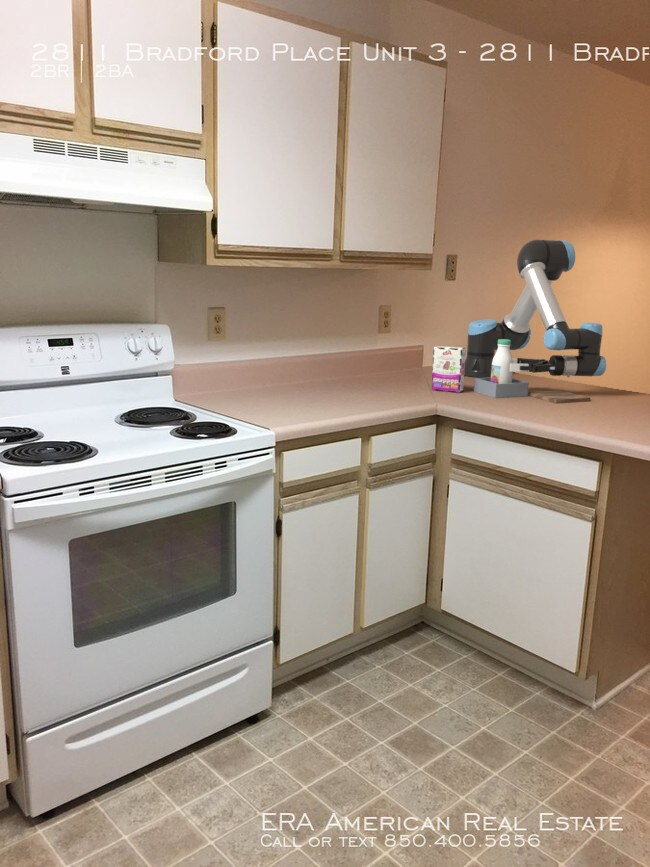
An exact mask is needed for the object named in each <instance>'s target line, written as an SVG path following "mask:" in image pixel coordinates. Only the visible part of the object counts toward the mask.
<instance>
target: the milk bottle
mask: <svg viewBox="0 0 650 867" xmlns="http://www.w3.org/2000/svg"><path fill="white" fill-rule="evenodd" d="M510 344H511V340H507V339H499V340H498V349H497V350H496V351H495V356H494V358H493V361H492V368H491V381H490V382H493V383H496V384H501V383H512V378H513V376H514V375H513V372H514V371H510V364H513V359H514V358H513V357H512V353H511V350H510Z"/></svg>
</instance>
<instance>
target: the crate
mask: <svg viewBox="0 0 650 867" xmlns="http://www.w3.org/2000/svg"><path fill="white" fill-rule="evenodd" d="M473 380H474V381H473V392H475V393H479V394H481V395H484V396H486V397H487V396H488V397H490V398H494V399H499V398H500V399H501V398H502V399H503V398H516V397H519V398H520V397H528V396H529V384H530V383H529V382H527V381H525V380H520V379H516V378H513V377H512V383H501V384H496V383H493V382H490V381H491V377H474V379H473Z"/></svg>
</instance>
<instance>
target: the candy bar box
mask: <svg viewBox="0 0 650 867" xmlns="http://www.w3.org/2000/svg"><path fill="white" fill-rule="evenodd" d="M466 352H467V348H466V347H459V346H458V347H457V346H441V345H437V346H434V347H433V353H432V354H433V355H432V373H431V374H432V375H431V376H432V377H431V378H432V379H431V390H432V391H439V392H449V393H458V394H459V393H462V392H464V386H465V385H464V384H465V383H464V382H465V375H464V369H465V360H466Z"/></svg>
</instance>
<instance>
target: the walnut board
mask: <svg viewBox="0 0 650 867" xmlns="http://www.w3.org/2000/svg"><path fill="white" fill-rule="evenodd" d="M528 396H529V397H531V398H535V399H539V400H542V401H547V402H550V403H553V404H566V403H581V402H583V403H584V402H591V397H589V396H585V395H581V394H578V393H574V392H569V391H565V390H550V391H549V390H547V391H533V392H529V391H528Z"/></svg>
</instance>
